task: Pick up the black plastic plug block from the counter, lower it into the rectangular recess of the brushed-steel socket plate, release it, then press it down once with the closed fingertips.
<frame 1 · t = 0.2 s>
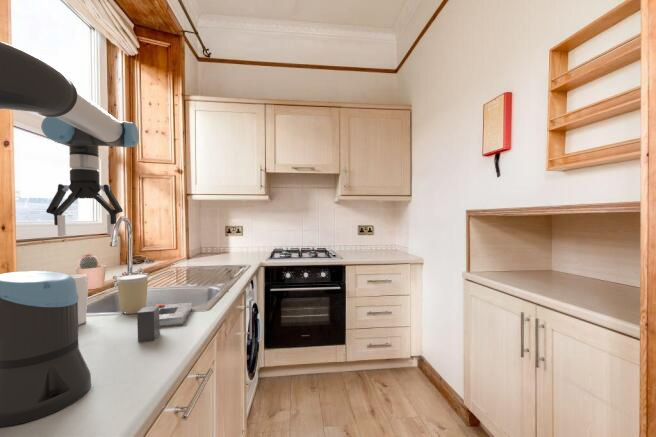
hand: (86, 235, 100), 28 cm above the counter, fingers open, 13 cm apart
plug: (149, 337, 85), on the counter
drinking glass: (75, 324, 96), on the counter
coffee cup: (133, 310, 109), on the counter
socket plate: (167, 318, 100), on the counter
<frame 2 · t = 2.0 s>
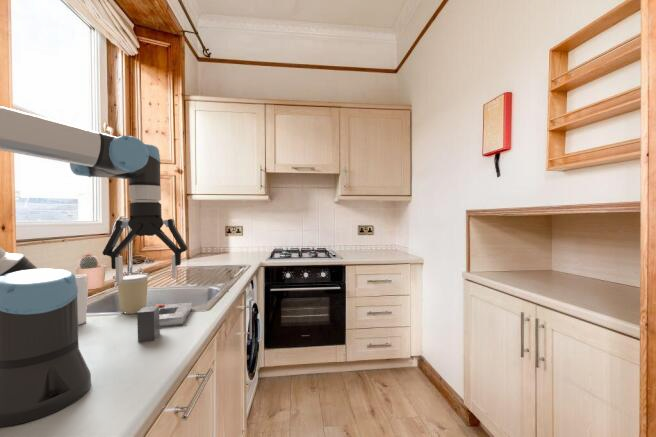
hand: (147, 279, 84), 16 cm above the counter, fingers open, 13 cm apart
nothing on the counter moved.
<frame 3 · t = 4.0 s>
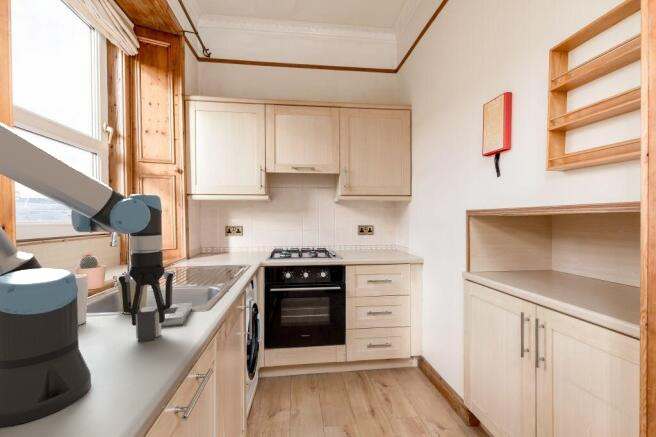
hand: (149, 335, 85), 1 cm above the counter, fingers closed on plug, 4 cm apart
plug: (149, 337, 85), on the counter, touching gripper
everything else where it was.
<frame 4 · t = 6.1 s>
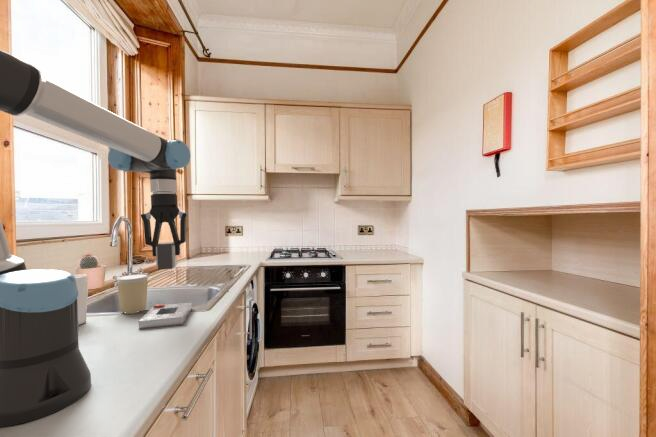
hand: (167, 265, 99), 17 cm above the counter, fingers closed on plug, 4 cm apart
plug: (167, 267, 99), point 17 cm above the counter, touching gripper
everything else where it was.
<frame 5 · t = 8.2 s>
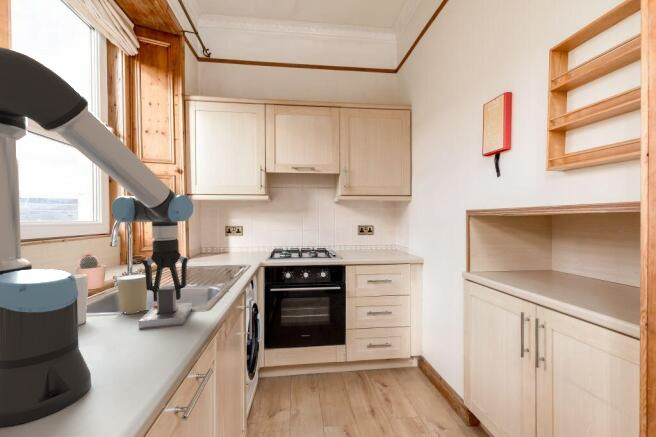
hand: (167, 310, 100), 3 cm above the counter, fingers closed on plug, 4 cm apart
plug: (167, 312, 100), point 2 cm above the counter, touching gripper
everything else where it was.
when the fingers open (3 cm above the counter, at t = 9.6 s): plug stays where it is, resting on socket plate.
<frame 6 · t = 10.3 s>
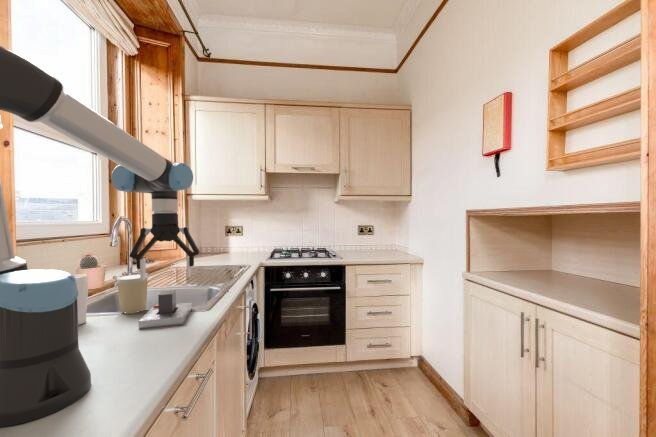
hand: (166, 277, 100), 13 cm above the counter, fingers open, 13 cm apart
plug: (167, 316, 100), resting on socket plate
everything else where it was.
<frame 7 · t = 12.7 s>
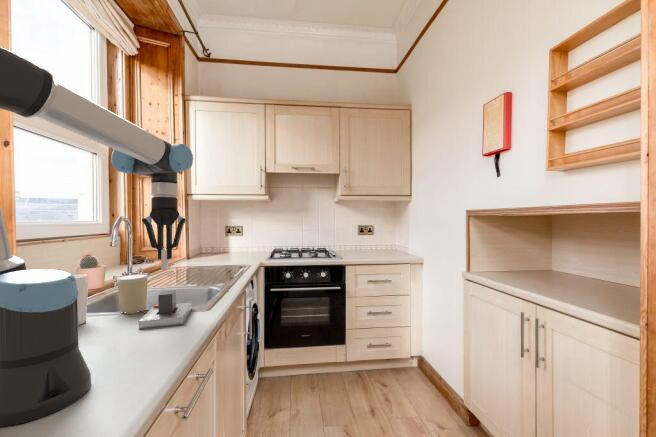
hand: (165, 269, 99), 16 cm above the counter, fingers closed
nothing on the counter moved.
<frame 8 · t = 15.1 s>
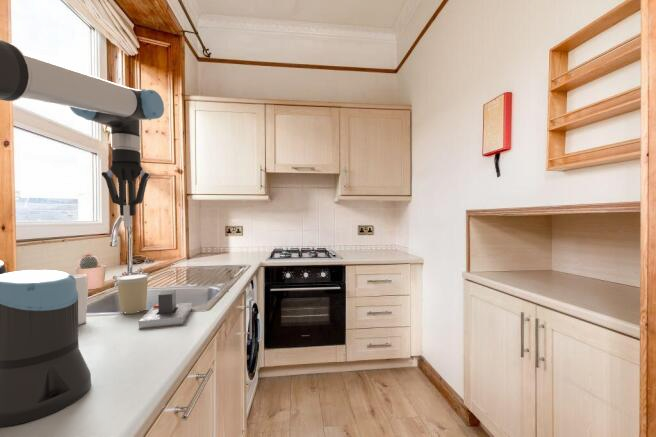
hand: (128, 226, 95), 30 cm above the counter, fingers closed
nothing on the counter moved.
at the end: plug 0.1 cm off-centre on the socket plate, point 0.4 cm above the socket plate's base; plug tilted 0°; the gripper is holding nothing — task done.
